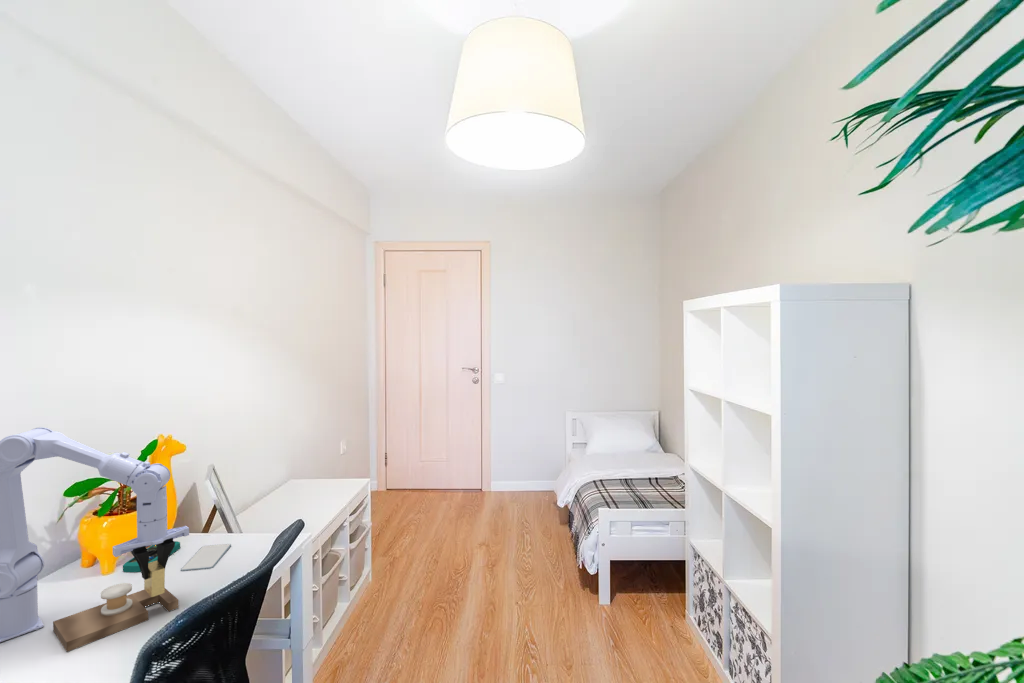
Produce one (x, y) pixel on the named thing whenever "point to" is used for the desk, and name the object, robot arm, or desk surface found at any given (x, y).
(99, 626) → the notched board
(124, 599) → the bobbin
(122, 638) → the desk surface
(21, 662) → the desk surface
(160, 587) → the brass tab
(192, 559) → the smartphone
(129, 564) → the digital multimeter
